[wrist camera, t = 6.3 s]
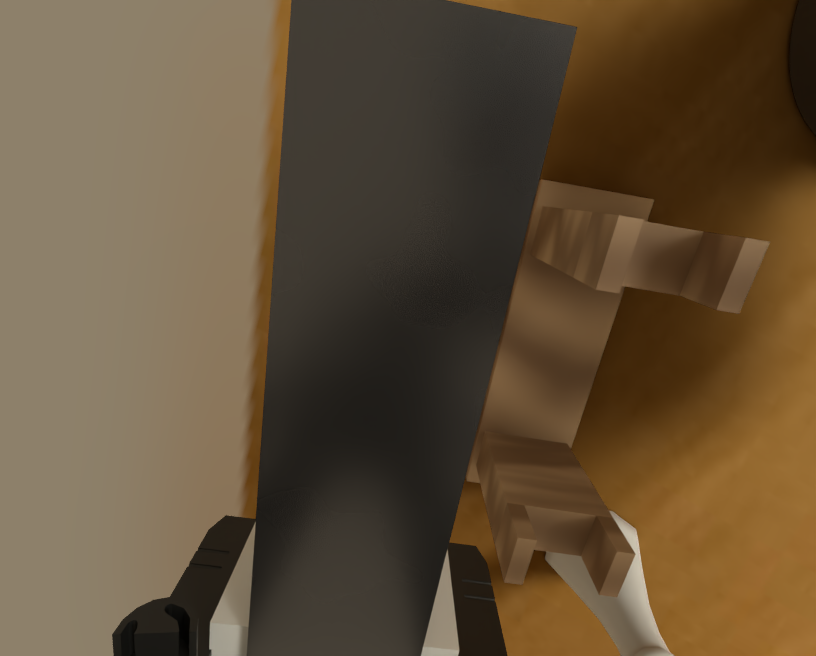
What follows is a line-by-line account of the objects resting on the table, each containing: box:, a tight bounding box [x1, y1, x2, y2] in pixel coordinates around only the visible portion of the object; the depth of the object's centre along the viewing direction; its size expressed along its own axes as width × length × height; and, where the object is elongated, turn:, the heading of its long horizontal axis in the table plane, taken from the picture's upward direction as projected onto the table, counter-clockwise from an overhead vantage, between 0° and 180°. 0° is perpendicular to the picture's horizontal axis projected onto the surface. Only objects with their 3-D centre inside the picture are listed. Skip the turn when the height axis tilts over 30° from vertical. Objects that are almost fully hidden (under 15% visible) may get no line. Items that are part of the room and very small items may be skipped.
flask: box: [545, 511, 674, 656], centre depth 30 cm, size 7×7×10 cm
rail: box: [247, 0, 577, 656], centre depth 9 cm, size 22×3×3 cm, turn 170°
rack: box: [466, 179, 770, 597], centre depth 24 cm, size 22×7×10 cm, turn 171°
